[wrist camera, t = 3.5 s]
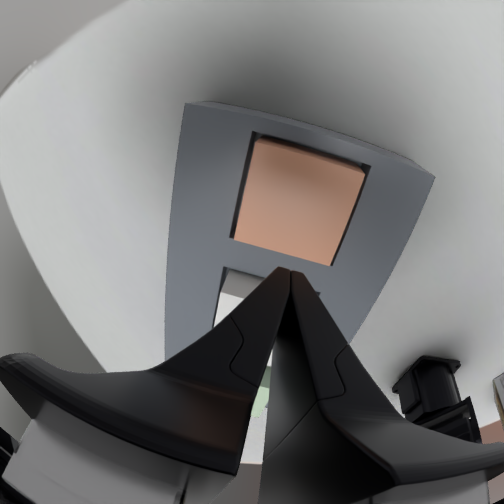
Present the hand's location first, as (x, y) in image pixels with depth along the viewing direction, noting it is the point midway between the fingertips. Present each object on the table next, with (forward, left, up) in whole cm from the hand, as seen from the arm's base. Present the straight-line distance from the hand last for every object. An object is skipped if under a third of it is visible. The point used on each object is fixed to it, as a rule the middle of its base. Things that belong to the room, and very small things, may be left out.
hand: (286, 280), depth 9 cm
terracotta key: (0, 0, -9) cm, 9 cm away
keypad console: (0, +9, -11) cm, 14 cm away
